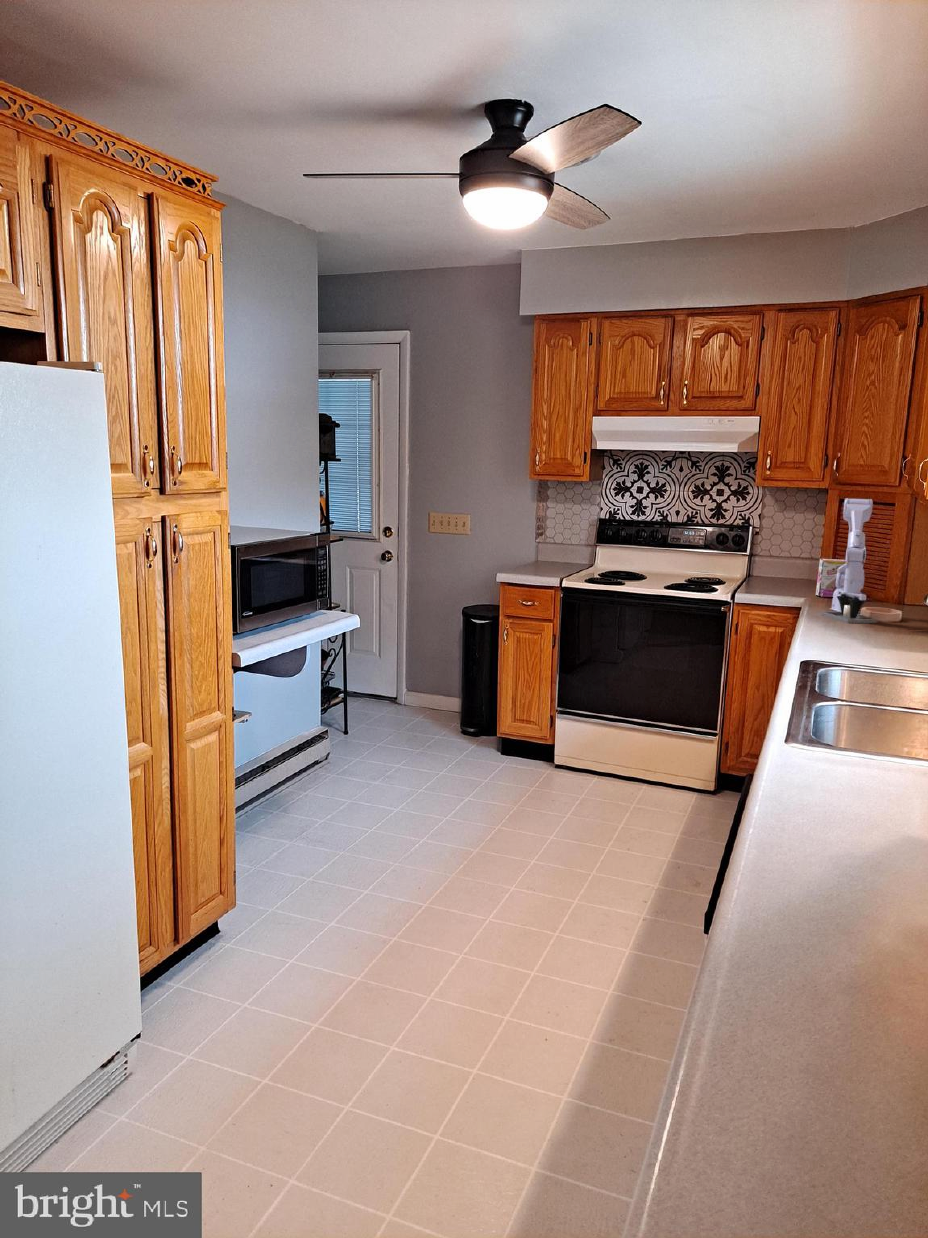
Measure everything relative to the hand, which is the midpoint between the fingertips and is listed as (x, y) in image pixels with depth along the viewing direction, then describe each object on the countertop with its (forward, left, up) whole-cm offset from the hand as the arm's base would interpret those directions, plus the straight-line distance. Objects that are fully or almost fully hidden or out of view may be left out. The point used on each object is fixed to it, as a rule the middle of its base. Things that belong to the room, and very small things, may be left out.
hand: (849, 616), depth 329 cm
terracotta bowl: (-1, +14, -2) cm, 14 cm away
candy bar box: (-51, +26, -2) cm, 57 cm away
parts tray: (0, 0, -2) cm, 2 cm away
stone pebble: (0, 0, -1) cm, 1 cm away
